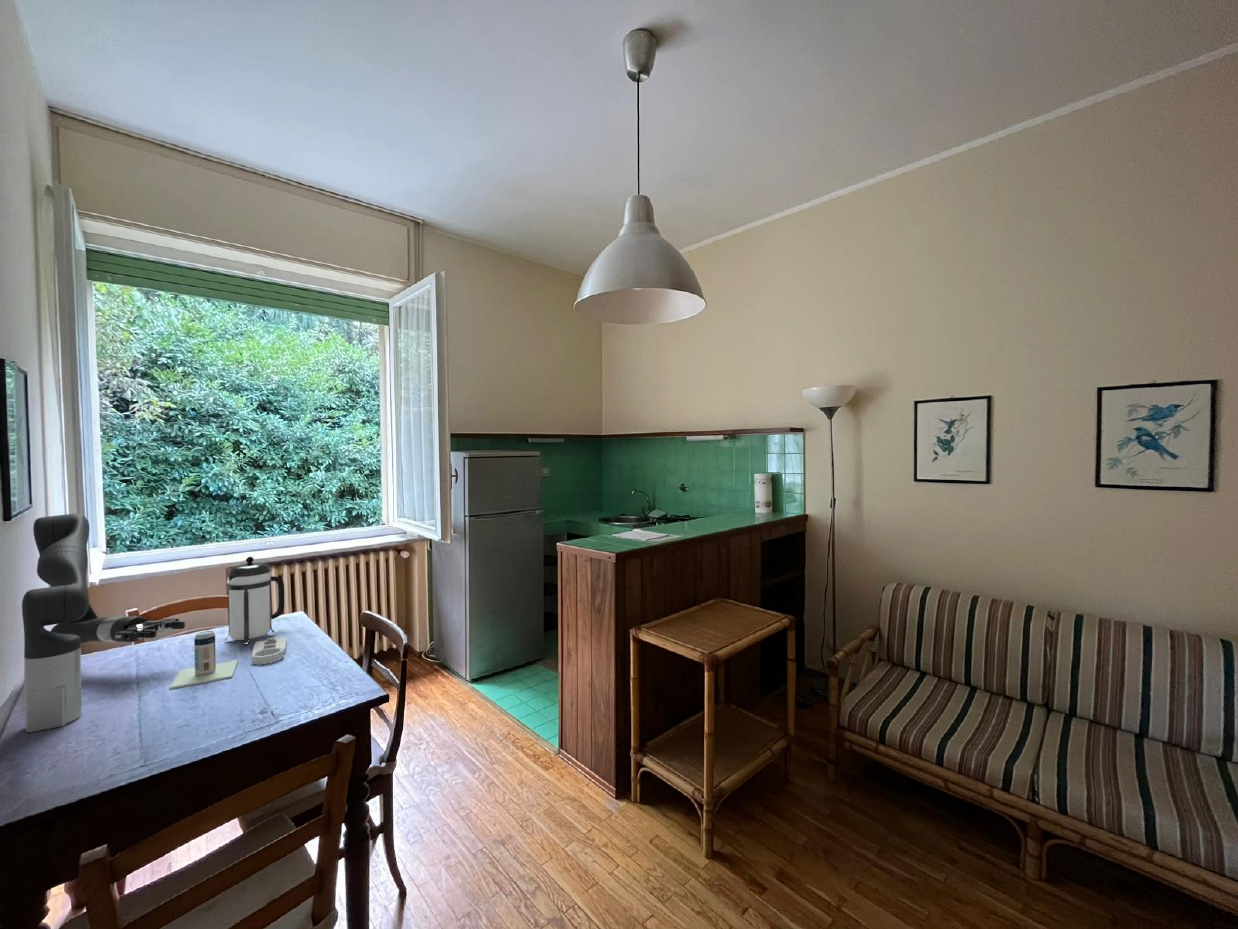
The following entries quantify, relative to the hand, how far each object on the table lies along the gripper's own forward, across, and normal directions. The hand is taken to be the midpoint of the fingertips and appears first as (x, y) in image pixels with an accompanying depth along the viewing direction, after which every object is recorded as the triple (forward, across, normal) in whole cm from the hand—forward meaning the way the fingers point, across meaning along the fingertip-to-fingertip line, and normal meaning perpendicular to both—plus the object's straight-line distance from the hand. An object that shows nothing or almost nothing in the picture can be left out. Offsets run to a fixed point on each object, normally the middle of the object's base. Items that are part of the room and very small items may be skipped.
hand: (169, 629), depth 150 cm
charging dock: (+16, +18, +14) cm, 28 cm away
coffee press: (-2, +32, +13) cm, 35 cm away
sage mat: (+11, +1, +14) cm, 18 cm away
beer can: (+11, +1, +13) cm, 17 cm away
